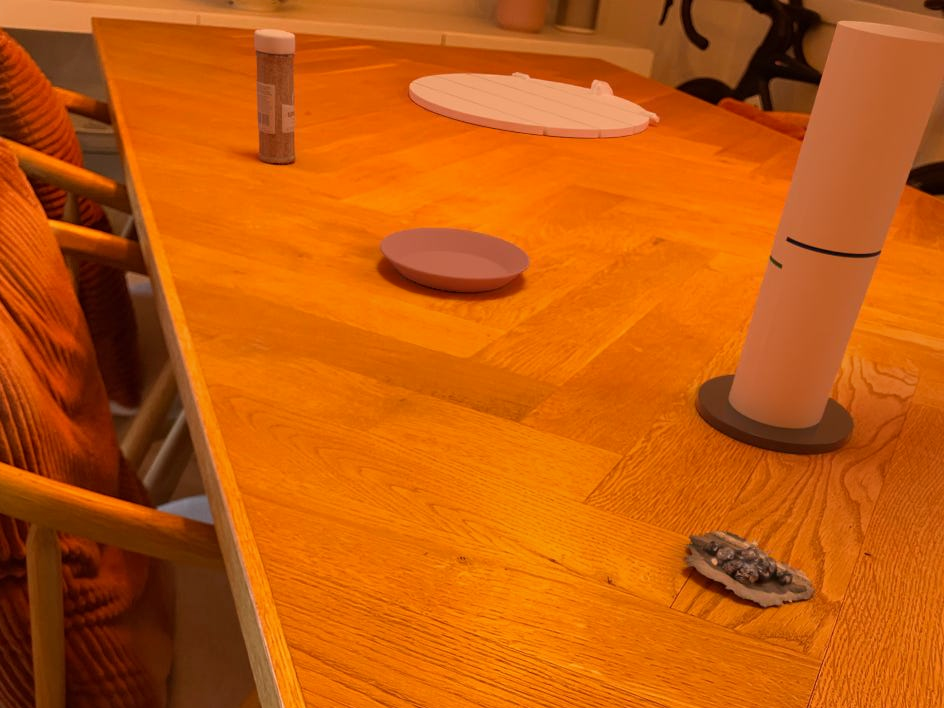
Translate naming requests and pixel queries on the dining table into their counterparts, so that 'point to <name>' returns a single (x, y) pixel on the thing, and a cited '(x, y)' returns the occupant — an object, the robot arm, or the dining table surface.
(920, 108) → the cylindrical container
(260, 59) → the sprinkles bottle
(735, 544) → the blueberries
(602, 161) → the dining table surface
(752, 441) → the coaster
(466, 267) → the plate
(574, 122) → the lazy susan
